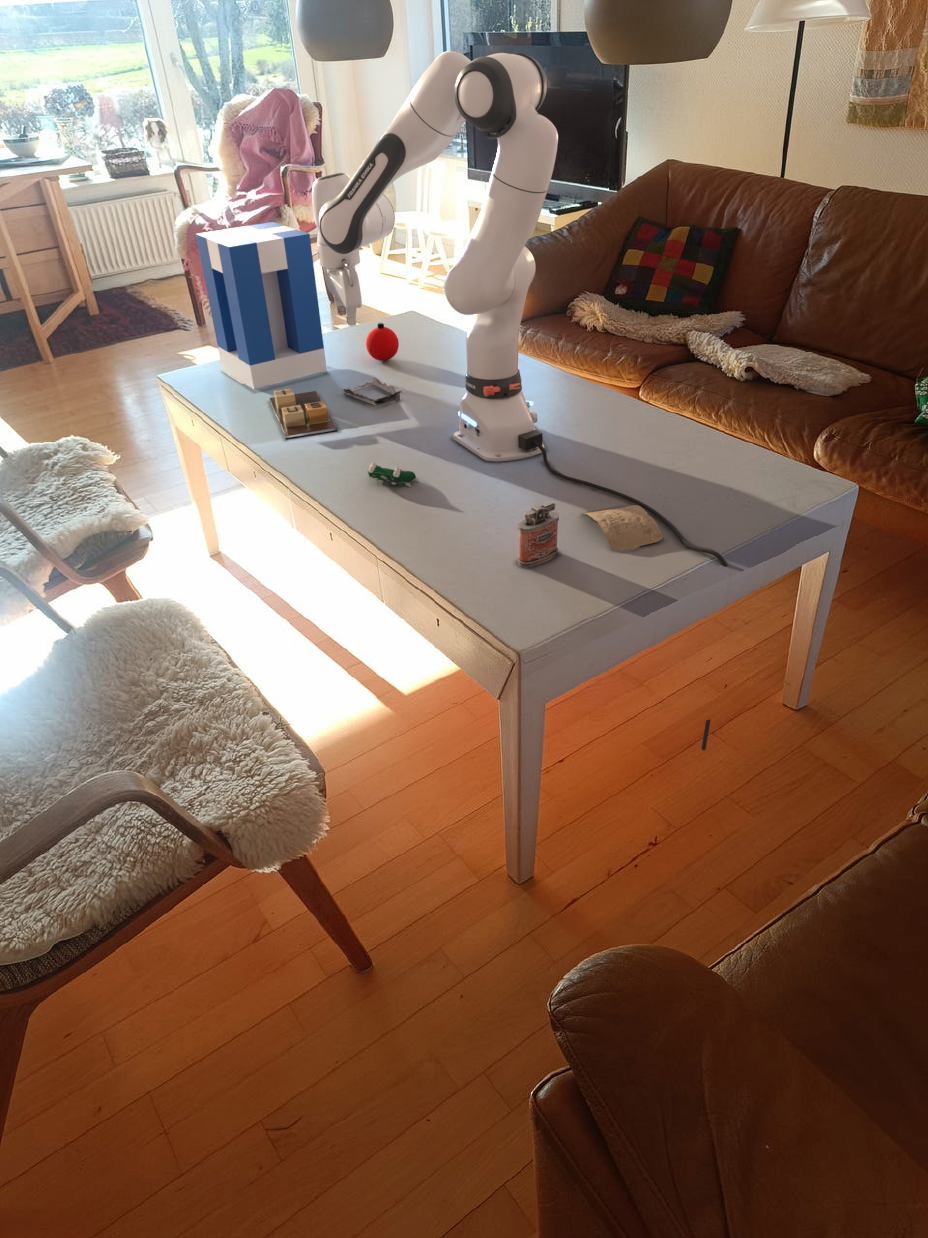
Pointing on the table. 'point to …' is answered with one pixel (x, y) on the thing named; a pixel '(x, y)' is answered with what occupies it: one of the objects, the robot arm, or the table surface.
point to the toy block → (263, 302)
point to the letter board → (306, 427)
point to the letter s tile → (316, 412)
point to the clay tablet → (627, 527)
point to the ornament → (382, 343)
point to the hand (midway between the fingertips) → (346, 319)
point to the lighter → (538, 535)
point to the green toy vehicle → (390, 474)
